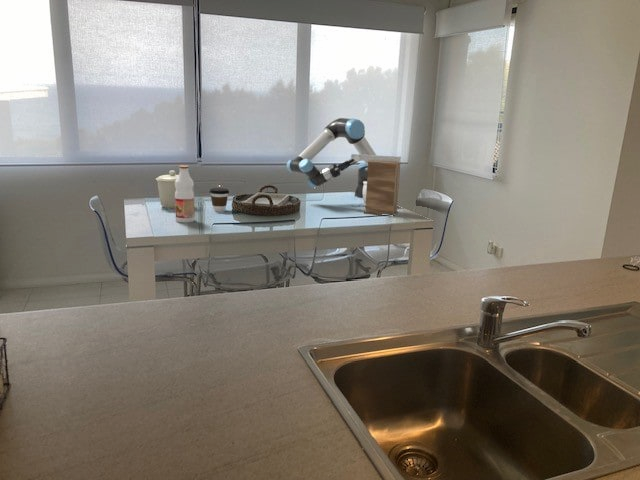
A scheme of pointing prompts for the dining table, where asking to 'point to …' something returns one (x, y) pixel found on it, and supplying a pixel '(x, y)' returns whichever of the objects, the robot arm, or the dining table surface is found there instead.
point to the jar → (364, 192)
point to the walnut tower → (382, 187)
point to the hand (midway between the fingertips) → (362, 156)
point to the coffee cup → (219, 198)
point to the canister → (167, 189)
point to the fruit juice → (184, 196)
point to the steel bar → (378, 158)
